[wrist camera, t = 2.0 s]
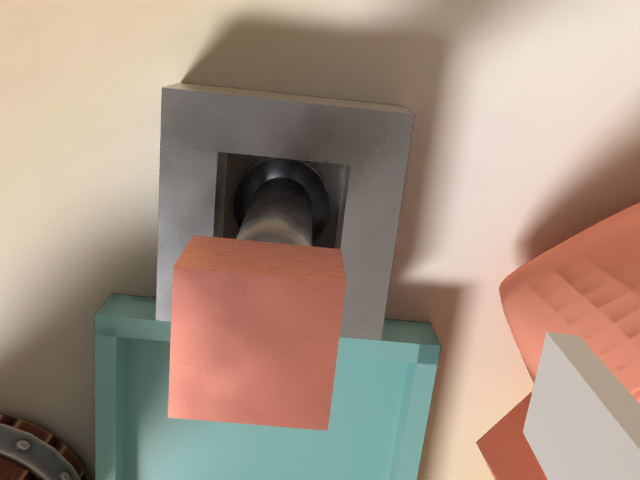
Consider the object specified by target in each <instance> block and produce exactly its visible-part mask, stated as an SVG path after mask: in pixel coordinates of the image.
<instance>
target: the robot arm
mask: <svg viewBox="0 0 640 480" xmlns="http://www.w3.org/2000/svg"><path fill="white" fill-rule="evenodd" d="M523 434H524V436H525V437H526V439H527V441H528V443H529V445H530V447H531V449H532V451H533V453H534V455H535V456H536V458H537V460H538V462H539V464H540V466H541V468H542V470H543V472H544V474H545V476H546V477H547V479H548V480H640V404H639V402H638V401H637V400H636V399H635V398H634V397H633V396H632V395H631V393H630V392H629V391H628V390H627V389H626V388H625V387H624V386H623V385H622V383H621V382H620V381H619V380H618V379H617V378H616V377H615V376H614V374H613V373H612V372H611V371H610V370H609V369H608V368H607V367H606V365H605V364H604V363H603V362H602V361H601V360H600V359H599V358H598V357H597V355H596V354H595V353H594V352H593V351H592V350H591V349H590V348H589V346H588V345H587V344H586V343H585V342H584V341H583V340H582V339H581V337H580V336H579V335H572V334H561V333H551V332H546V336H545V340H544V345H543V349H542V353H541V357H540V361H539V366H538V370H537V374H536V378H535V382H534V387H533V391H532V395H531V399H530V403H529V408H528V412H527V416H526V420H525V424H524V429H523Z"/></svg>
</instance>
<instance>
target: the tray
mask: <svg viewBox="0 0 640 480" xmlns="http://www.w3.org/2000/svg"><path fill="white" fill-rule="evenodd" d="M94 336H95V480H417V476H418V470H419V465H420V459H421V454H422V448H423V443H424V437H425V431H426V426H427V420H428V415H429V409H430V404H431V398H432V393H433V387H434V382H435V376H436V371H437V365H438V360H439V354H440V349H441V345H440V343H439V340H438V338H437V336H436V333H435V331H434V329H433V326H432V324H431V323H425V322H414V321H403V320H392V319H384V324H383V331H382V337H381V340H370V339H359V338H348V337H340V338H339V346H338V354H337V362H336V370H335V377H334V385H333V393H332V401H331V409H330V417H329V425H328V431H325V430H313V429H300V428H288V427H276V426H264V425H252V424H240V423H228V422H216V421H204V420H192V419H180V418H168V398H169V370H170V342H171V322H169V321H157V320H156V298H150V297H139V296H128V295H117V294H111V295H110V296H109V298H108V299H107V300H106V301H105V303H104V304H103V305H102V306H101V308H100V309H99V310H98V311H97V312H96V314H95V315H94Z"/></svg>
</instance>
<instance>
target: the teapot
mask: <svg viewBox="0 0 640 480" xmlns="http://www.w3.org/2000/svg"><path fill="white" fill-rule="evenodd" d="M499 292H500V297H501V301H502V305H503V310H504V313H505V316H506V319H507V321H508V324H509V326H510V329H511V331H512V334H513V336H514V339H515V341H516V344H517V346H518V348H519V351H520V353H521V355H522V358H523V360H524V362H525V364H526V367H527V369H528V371H529V374H530V376H531V378H532V380H533V383H534V382H535V378H536V374H537V370H538V366H539V361H540V357H541V353H542V349H543V345H544V340H545V336H546V332H551V333H561V334H572V335H579V336H580V337H581V339H582V340H583V341H584V342H585V343H586V344H587V345H588V346H589V348H590V349H591V350H592V351H593V352H594V353H595V354H596V355H597V357H598V358H599V359H600V360H601V361H602V362H603V363H604V364H605V365H606V367H607V368H608V369H609V370H610V371H611V372H612V373H613V374H614V376H615V377H616V378H617V379H618V380H619V381H620V382H621V383H622V385H623V386H624V387H625V388H626V389H627V390H628V391H629V392H630V393H631V395H632V396H633V397H634V398H635V399H636V400H637V401H638V402H639V404H640V202H639V203H637V204H635V205H632V206H630V207H628V208H626V209H624V210H622V211H620V212H618V213H616V214H614V215H612V216H610V217H608V218H606V219H604V220H602V221H600V222H598V223H596V224H594V225H593V226H591V227H589V228H587V229H585V230H583V231H582V232H580V233H578V234H576V235H574V236H573V237H571V238H569V239H567V240H565V241H564V242H562V243H560V244H558V245H557V246H555V247H553V248H551V249H549V250H547V251H545V252H543V253H541V254H540V255H539V256H537V257H536V258H534V259H532V260H531V261H529V262H527V263H526V264H524V265H523V266H521V267H519V268H518V269H517V270H515V271H514V272H513V273H511V274H510V275H508V276H507V277H506V278H505V279H504V280H503V281H502V283H501V284H500V287H499ZM531 395H532V392H531V393H530V394H529V395H527V396H526V397H525V398H524V399H523V400H522V401H521V402H520V403H519V404H518V405H517V406H515V407H514V408H513V409H512V410H511V411H510V412H509V413H508V414H507V415H506V416H504V417H503V418H502V419H501V420H500V421H499V422H498V423H497V424H496V425H495V426H493V427H492V428H491V429H490V430H489V431H488V432H487V433H486V434H485V435H484V436H483V437H481V438H480V439H479V440H478V441H477V442H476V443H477V445H478V447H479V449H480V451H481V453H482V455H483V457H484V459H485V461H486V463H487V465H488V467H489V469H490V471H491V473H492V475H493V477H494V479H495V480H548V479H547V477H546V476H545V474H544V472H543V470H542V468H541V466H540V464H539V462H538V460H537V458H536V456H535V455H534V453H533V451H532V449H531V447H530V445H529V443H528V441H527V439H526V437H525V436H524V434H523V429H524V424H525V420H526V416H527V412H528V408H529V403H530V399H531Z"/></svg>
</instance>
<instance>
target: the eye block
mask: <svg viewBox="0 0 640 480" xmlns="http://www.w3.org/2000/svg"><path fill="white" fill-rule="evenodd" d="M414 115H415V114H414V113H412V112H411V111H409V110H407V109H406V108H404V107H403V106H397V105H387V104H378V103H368V102H359V101H350V100H340V99H331V98H321V97H312V96H302V95H293V94H284V93H274V92H265V91H255V90H246V89H237V88H227V87H218V86H208V85H199V84H189V83H177V84H173V85H169V86H166V87H162V103H161V140H160V177H159V214H158V252H157V289H156V320H157V321H169V322H171V314H172V285H173V266H174V265H175V263H176V262H177V260H178V258H179V257H180V255H181V254H182V252H183V250H184V249H185V247H186V246H187V244H188V243H189V241H190V239H191V238H192V236H193V235H199V236H209V237H220V238H223V228H224V211H225V195H226V178H227V161H228V153H234V154H244V155H254V156H264V157H273V158H283V159H293V160H303V161H313V162H323V163H333V164H342V165H344V171H343V180H342V188H341V197H340V205H339V214H338V222H337V231H336V239H335V249H342V256H343V263H344V270H345V277H346V290H345V298H344V306H343V314H342V322H341V330H340V337H348V338H359V339H370V340H381V337H382V331H383V324H384V317H385V310H386V304H387V297H388V290H389V283H390V277H391V270H392V263H393V257H394V250H395V243H396V236H397V230H398V223H399V216H400V209H401V203H402V196H403V189H404V182H405V176H406V169H407V162H408V155H409V149H410V142H411V135H412V129H413V122H414Z"/></svg>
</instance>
